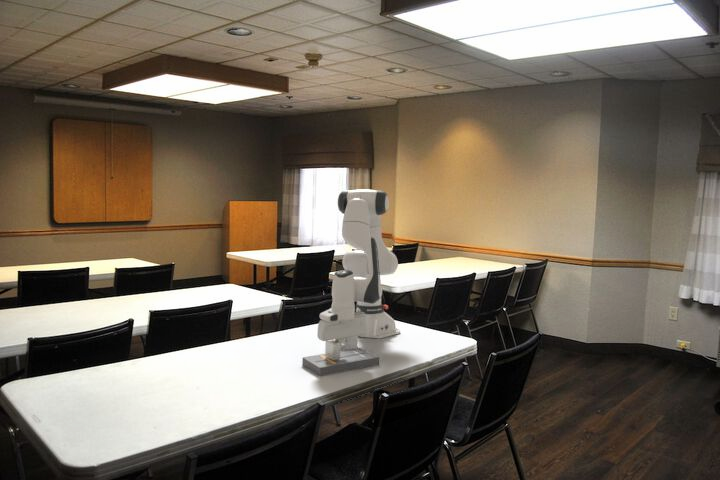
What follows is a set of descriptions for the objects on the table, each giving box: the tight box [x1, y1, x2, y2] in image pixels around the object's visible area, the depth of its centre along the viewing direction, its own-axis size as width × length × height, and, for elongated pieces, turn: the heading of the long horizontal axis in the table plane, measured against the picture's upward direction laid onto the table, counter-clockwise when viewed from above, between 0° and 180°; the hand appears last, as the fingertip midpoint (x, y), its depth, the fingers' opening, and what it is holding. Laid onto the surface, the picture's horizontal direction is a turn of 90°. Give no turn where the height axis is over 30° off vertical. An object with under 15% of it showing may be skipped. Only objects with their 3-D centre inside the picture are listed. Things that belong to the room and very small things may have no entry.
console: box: [301, 347, 381, 377], centre depth 207 cm, size 26×14×3 cm, turn 123°
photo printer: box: [335, 336, 359, 351], centre depth 225 cm, size 10×4×12 cm, turn 98°
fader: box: [324, 339, 341, 360], centre depth 204 cm, size 3×6×7 cm, turn 33°
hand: (342, 348), depth 207 cm, fingers closed
